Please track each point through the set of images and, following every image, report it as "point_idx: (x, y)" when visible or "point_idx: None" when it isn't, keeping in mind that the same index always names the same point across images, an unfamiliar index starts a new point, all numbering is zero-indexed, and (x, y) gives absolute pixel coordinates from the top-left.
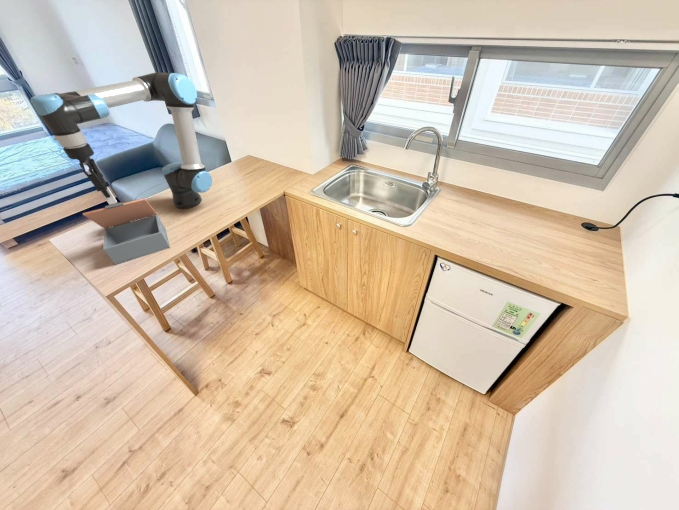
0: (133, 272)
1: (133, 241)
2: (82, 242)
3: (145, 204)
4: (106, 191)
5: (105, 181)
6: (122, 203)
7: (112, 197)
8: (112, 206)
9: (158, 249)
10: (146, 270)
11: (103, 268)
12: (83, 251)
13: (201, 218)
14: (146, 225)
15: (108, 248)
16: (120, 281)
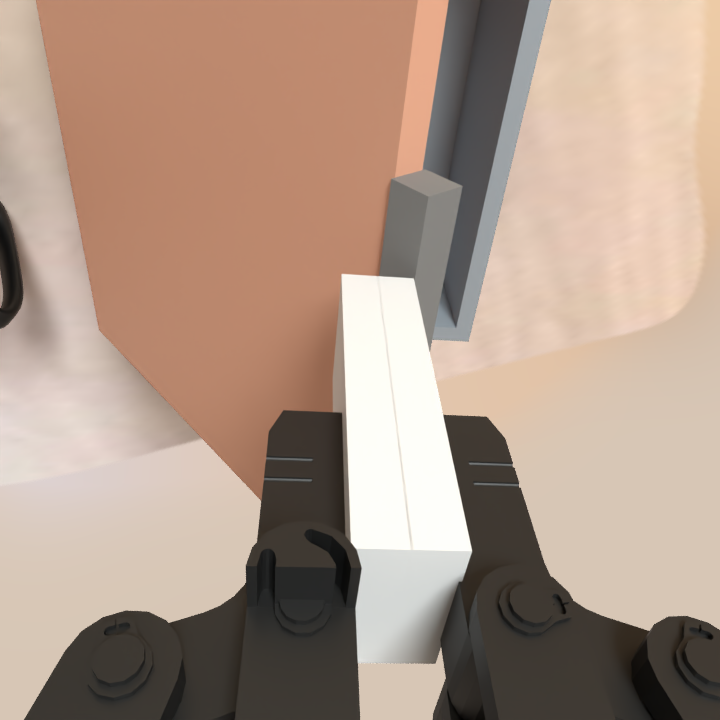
0: (627, 169)
1: (516, 128)
2: (28, 402)
3: None
4: (536, 553)
5: (121, 692)
6: (446, 191)
7: (425, 373)
8: (428, 338)
9: None
10: (688, 84)
11: None
12: (150, 397)
13: None
14: None
15: (474, 312)
16: (648, 246)
